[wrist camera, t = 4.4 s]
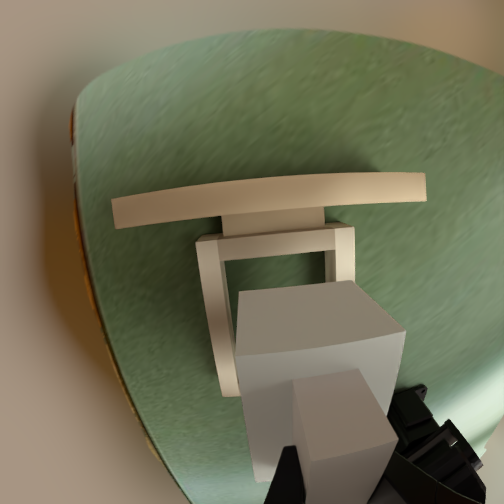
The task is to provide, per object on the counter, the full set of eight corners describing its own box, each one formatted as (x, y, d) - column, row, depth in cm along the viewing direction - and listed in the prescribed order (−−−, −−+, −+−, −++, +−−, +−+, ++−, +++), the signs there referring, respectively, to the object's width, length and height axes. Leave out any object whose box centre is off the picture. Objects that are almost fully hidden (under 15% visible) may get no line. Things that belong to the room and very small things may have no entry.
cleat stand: (378, 354, 20) (404, 390, 15) (181, 377, 20) (168, 420, 15) (383, 175, 17) (424, 172, 12) (145, 196, 17) (111, 199, 12)
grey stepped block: (342, 396, 14) (390, 512, 6) (252, 408, 14) (257, 538, 6) (351, 279, 12) (463, 388, 4) (238, 291, 12) (230, 441, 4)
